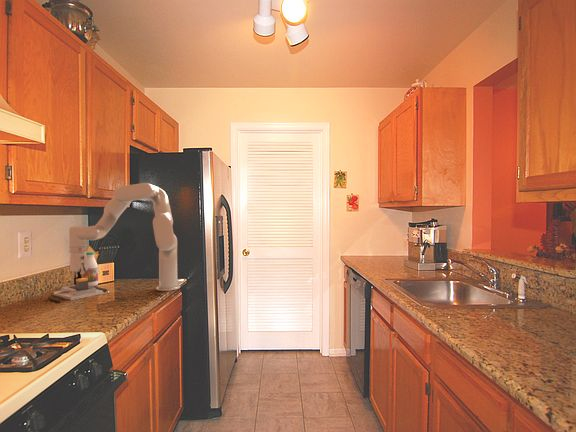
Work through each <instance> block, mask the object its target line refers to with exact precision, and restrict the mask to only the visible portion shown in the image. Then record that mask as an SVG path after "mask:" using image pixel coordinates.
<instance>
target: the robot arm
mask: <svg viewBox="0 0 576 432" xmlns="http://www.w3.org/2000/svg"><path fill="white" fill-rule="evenodd" d="M140 200H149V201H151V202H152V205H153V207H152V208H153V211H154V212H153V213H154V217H153V219H152V228H153V234H154V241H155V243H156V247H157V249H159V250H158V274H159V275H158V282H159V283H158V284H159V285H157V286H156V291H158V292H159V291H160V292H168V291H169V292H170V291H175V290H179V289H180V288H181V285H180V284H183V283H185V279H184V278H182V279H178V238H177V236H176V234H175V233H174V229H173V228H174V227H173V225H174V219H173V215H172V210H171V205H170V201H169V197H168V194H167V193H166V191H165V190H163V189H162V188H160V187H159V186H156V185H153V184H151V183H148V182H142V183H136V184H135V183H133V184H127V185H121V186H118V187H116V188H115V190H114V191H113V197H112V198H111V200H109V202H108V203H107V204H106V205H105V206H104V208H103V214H102V217H101V218H100V219H99V220H98V222H97V223H96V224H95V225H89V226H81V225H80V226H70V227H69V229H68V232H69V233H68V235H69V237H68V242H69V244H68V245H69V246H68V249H69V250H68V253H69V254H70V255H69V270H70V271H71V272H72V273H73V285H76V279H79V278H82V275H83V274H84V271H87V270H88V266H87V255H86V252H87V241H96V240H101V239H103V238H104V237H105V236H106V235H107V234H108V233H109V231H110V230H111V229H112V228H113V227H114V226H115V225H116V223H117V221H118V219H119V218H120V216H121V215H122V214H123V213H124V211H126V210H127V208H128V207H129V206H130V205H131V203H132V202H135V201H140Z"/></svg>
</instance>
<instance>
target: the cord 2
mask: <svg viewBox="0 0 576 432" xmlns="http://www.w3.org/2000/svg"><path fill="white" fill-rule="evenodd" d="M93 287H94V288H96V289H97V290H101V291H103V293H104V292H107V291H108V289H106V288H104V287H103V288H102V287H101V286H100V287H99V286H97V285H96V286H93Z"/></svg>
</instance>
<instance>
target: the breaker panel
mask: <svg viewBox="0 0 576 432" xmlns="http://www.w3.org/2000/svg"><path fill="white" fill-rule="evenodd" d="M94 287H95V286H92V287H90V286H88V289H84V290H76V285H74V284H72V285H67V286H61V287H60V290H58V291H53V296H56V297H58V298H63V299H65V300H67V301H75V300H81V299H85V298H91V297H95V296H98V295H103V294H104V292H103V291H101V290H97V289H96V288H94Z"/></svg>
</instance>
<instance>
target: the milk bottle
mask: <svg viewBox="0 0 576 432" xmlns="http://www.w3.org/2000/svg"><path fill="white" fill-rule="evenodd" d="M86 255H87V266H88V270H87V271H84V274H83V275H82V278H88V286H90V287H95V286H96V287H97V286H99V285H98V284H99V270H98V269H99V268H98V263H97V260H96V258H95V251H86Z"/></svg>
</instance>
